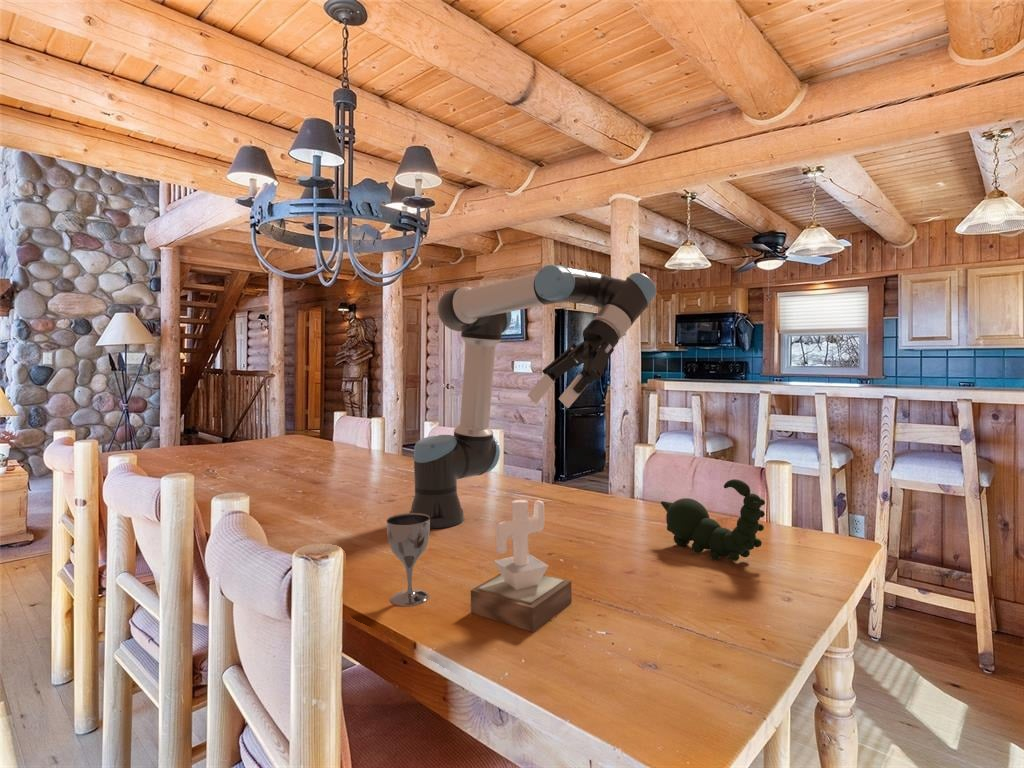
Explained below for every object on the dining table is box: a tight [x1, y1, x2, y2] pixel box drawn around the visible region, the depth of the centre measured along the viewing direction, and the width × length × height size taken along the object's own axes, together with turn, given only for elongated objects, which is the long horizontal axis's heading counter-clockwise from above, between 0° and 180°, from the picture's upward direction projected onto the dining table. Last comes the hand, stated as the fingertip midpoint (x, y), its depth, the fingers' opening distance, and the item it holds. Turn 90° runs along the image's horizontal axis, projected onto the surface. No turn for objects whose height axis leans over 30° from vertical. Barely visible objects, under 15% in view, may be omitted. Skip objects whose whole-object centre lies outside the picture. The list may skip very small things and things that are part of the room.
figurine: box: [493, 499, 549, 590], centre depth 97 cm, size 7×9×15 cm
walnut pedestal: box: [470, 573, 573, 633], centre depth 97 cm, size 13×13×4 cm
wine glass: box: [386, 512, 431, 607], centre depth 102 cm, size 8×8×15 cm
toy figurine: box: [660, 478, 766, 562], centre depth 124 cm, size 10×19×26 cm
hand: (546, 401), depth 114 cm, fingers open, 13 cm apart
